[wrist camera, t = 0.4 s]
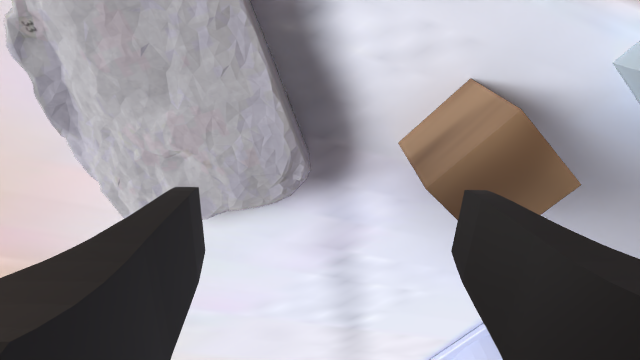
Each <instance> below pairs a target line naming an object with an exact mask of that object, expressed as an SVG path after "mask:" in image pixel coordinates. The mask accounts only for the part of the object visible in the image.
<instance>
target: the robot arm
mask: <svg viewBox="0 0 640 360" xmlns="http://www.w3.org/2000/svg"><path fill="white" fill-rule="evenodd" d="M204 254H205V244H204V234H203V224H202V214H201V204H200V195H199V187H174V188H172V189H170V190H168V191H167V192H165V193H163V194H162V195H160V196H159V197H157V198H156V199H154V200H153V201H151V202H150V203H148V204H147V205H145V206H143V207H142V208H140V209H139V210H137V211H136V212H134V213H133V214H131V215H130V216H128V217H126V218H125V219H123V220H122V221H120V222H118V223H116V224H115V225H113V226H111V227H110V228H108V229H106V230H104V231H103V232H101V233H99V234H98V235H96V236H94V237H92V238H90V239H89V240H87V241H85V242H83V243H81V244H79V245H77V246H75V247H73V248H71V249H69V250H67V251H65V252H62V253H60V254H58V255H56V256H54V257H52V258H50V259H47V260H45V261H43V262H40V263H38V264H35V265H33V266H30V267H28V268H25V269H22V270H20V271H17V272H15V273H12V274H10V275H7V276H5V277H2V278H0V360H170V359H171V356H172V353H173V351H174V348H175V345H176V343H177V340H178V337H179V334H180V332H181V329H182V326H183V324H184V321H185V318H186V316H187V313H188V310H189V308H190V305H191V302H192V299H193V297H194V294H195V291H196V288H197V285H198V282H199V278H200V274H201V269H202V264H203V259H204ZM452 255H453V258H454V261H455V264H456V267H457V270H458V272H459V275H460V278H461V280H462V283H463V285H464V287H465V289H466V291H467V292H468V294H469V296H470V298H471V300H472V302H473V304H474V306H475V308H476V310H477V311H478V313H479V315H480V317H481V319H482V321H483V324H482V325H481V326H479V327H478V328H476V329H475V330H473V331H472V332H470V333H469V334H467V335H466V336H464V337H463V338H461V339H460V340H458V341H457V342H455V343H454V344H452V345H451V346H449V347H448V348H447V349H445V350H444V351H442V352H441V353H439V354H438V355H436V356H435V357H433V358H432V359H430V360H640V259H638V258H635V257H632V256H630V255H627V254H625V253H622V252H619V251H617V250H614V249H611V248H609V247H607V246H604V245H602V244H599V243H597V242H595V241H593V240H590V239H588V238H586V237H584V236H582V235H579V234H577V233H575V232H573V231H571V230H569V229H567V228H565V227H562V226H560V225H558V224H556V223H554V222H552V221H550V220H548V219H546V218H544V217H542V216H540V215H538V214H536V213H535V212H533V211H531V210H529V209H527V208H525V207H523V206H521V205H519V204H517V203H515V202H513V201H511V200H509V199H507V198H505V197H503V196H500V195H498V194H496V193H493V192H490V191H488V190H464V195H463V200H462V204H461V209H460V214H459V218H458V223H457V228H456V232H455V237H454V242H453V246H452Z"/></svg>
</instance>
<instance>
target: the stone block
mask: <svg viewBox="0 0 640 360" xmlns="http://www.w3.org/2000/svg"><path fill="white" fill-rule="evenodd" d="M11 1H12V8H11V9H10V11H9V12H8V13H7V14H6V15H5V17H4V25H5V30H6V46H7V48H8V50H9V52H10V54H11V56H12V57H13V58H14V59H15V61H16V62H17V63H18V64H19V65H20V66H21V67H22V68H23V69H24V70H25V71H26V72H27V74H28V75H29V77H30V79H31V81H32V83H33V87H34V94H35V97H36V99H37V101H38V103H39V105H40V106H41V108H42V110H43V111H44V113H45V115H46V116H47V118H48V120H49V121H50V123H51V124H52V125H53V127H54V128H55V129H56V130H57V131H58V132H59V134H60V135H61V136H62V137H64V138H65V139H66V141H67V143H68V146H69V147H70V149H71V151H72V152H73V154H74V157H75V158H76V159H77V160H78V162H79V163H80V164H81V165H82V166H83V168H84V169H85V171H86V172H87V173H88V174H89V175H90V176H91V177H93V178H94V179H95V180H96V181H98V183H99V185H100V190H101V192H102V193H103V194H104V195H105V196H106V197H107V198H108V200H109V201H110V202H111V203H112V205H113V206H114V207H115V208H116V209H117V211H118V212H119V213H120V214H121V215H122V216H123V218H124V219H125V218H126V217H128V216H130V215H131V214H133V213H134V212H136V211H137V210H139V209H140V208H142V207H143V206H145V205H147V204H148V203H150V202H151V201H153V200H154V199H156V198H157V197H159V196H160V195H162V194H163V193H165V192H167V191H168V190H170V189H172V188H174V187H199V195H200V204H201V214H202V219H208V218H210V217H213V216H215V215H217V214H220V213H223V212H226V211H234V210H245V209H249V208H256V207H261V206H265V205H269V204H272V203H275V202H278V201H280V200H282V199H284V198H286V197H289V196H291V195H292V194H293V193H294V192H295V191H296V190H297V189H298V188H299V187H300V185H301V184H302V183H303V182H304V181H305V180H306V179H307V177H308V175H309V172H310V171H311V169H310V162H309V152H308V149H307V146H306V144H305V141H304V139H303V136H302V133H301V131H300V128H299V125H298V123H297V120H296V118H295V115H294V113H293V110H292V108H291V105H290V102H289V100H288V97H287V95H286V92H285V90H284V87H283V84H282V82H281V79H280V77H279V74H278V71H277V69H276V66H275V63H274V61H273V58H272V56H271V53H270V51H269V48H268V45H267V43H266V40H265V38H264V35H263V32H262V30H261V28H260V25H259V23H258V21H257V18H256V15H255V13H254V10H253V7H252V5H251V2H250V0H11Z"/></svg>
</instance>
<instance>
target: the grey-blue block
mask: <svg viewBox="0 0 640 360" xmlns="http://www.w3.org/2000/svg"><path fill="white" fill-rule="evenodd" d="M613 65H614V66H615V68H616V69H617V71H618V72H619V74H620V75H621V77H622V78H623V80H624V81H625V83H626V84H627V85H628V87H629V88H630V90H631V91H632V93H633V94H634V96H635V97H636V99H637V100H638V102H639V103H640V41H639V42H638V43H636V44H635V45H634V46H633V47H631V48H630V49H629V50H628V51H627V52H625V53H624V54H623V55H622V56H620V57H619V58H618V59H617V60H616V61H614V62H613Z"/></svg>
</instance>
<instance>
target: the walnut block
mask: <svg viewBox="0 0 640 360" xmlns="http://www.w3.org/2000/svg"><path fill="white" fill-rule="evenodd" d="M398 144H399V145H400V147H401V149H402V150H403V152H404V154H405V155H406V157H407V159H408V160H409V162H410V164H411V165H412V167H413V168H414V170H415V172H416V173H417V175H418V177H419V178H420V180H421V182H422V183H423V185H424V187H425V188H426V190H427V191H429V192H430V193H431V194H432V195H433V196H434V197H435V198H436V199H437V200H438V201H439V202H440V203H441V204H442V205H443V206H444V207H445V208H446V209H447V210H448V211H449V212H450V213H451V214H452V215H453V216H454V217H455V218H456V219H457V220H458V218H459V214H460V209H461V204H462V200H463V195H464V190H488V191H490V192H493V193H496V194H498V195H500V196H503V197H505V198H507V199H509V200H511V201H513V202H515V203H517V204H519V205H521V206H523V207H525V208H527V209H529V210H531V211H533V212H535V213H536V214H538V215H541V214H542V213H544V212H545V211H546V210H548V209H549V208H550V207H552V206H553V205H555V204H556V203H557V202H559V201H560V200H561V199H563V198H564V197H565V196H567V195H568V194H570V193H571V192H572V191H574V190H575V189H576V188H578V187H579V186H580V185H581V184H580V182H579V181H578V180H577V179H576V177H575V176H574V175H573V174H572V172H571V171H570V170H569V168H568V167H567V166H566V165H565V163H564V162H563V161H562V160H561V158H560V157H559V156H558V155H557V153H556V152H555V151H554V150H553V148H552V147H551V146H550V145H549V143H548V142H547V141H546V140H545V138H544V137H543V136H542V135H541V133H540V132H539V131H538V130H537V128H536V127H535V126H534V124H533V123H532V122H531V121H530V119H529V118H528V117H527V116H526V114H525V113H524V112H523V111H522V109H520V108H518V107H517V106H515V105H513V104H512V103H510V102H508V101H507V100H505V99H504V98H502V97H500V96H499V95H497V94H495V93H494V92H492V91H490V90H489V89H487V88H485V87H484V86H482V85H480V84H479V83H477V82H476V81H474V80H472V79H469V80H468V81H467V82H466V83H465V84H464V85H463V86H462V87H460V88H459V89H458V90H457V91H456V92H455V93H454V94H453V95H451V96H450V97H449V98H448V99H447V100H446V101H445V102H444V103H442V104H441V105H440V106H439V107H438V108H437V109H436V110H435V111H433V112H432V113H431V114H430V115H429V116H428V117H427V118H426V119H424V120H423V121H422V122H421V123H420V124H419V125H418V126H417V127H415V128H414V129H413V130H412V131H411V132H410V133H409V134H408V135H406V136H405V137H404V138H403V139H402V140H401V141H400V142H399V143H398Z"/></svg>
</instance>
